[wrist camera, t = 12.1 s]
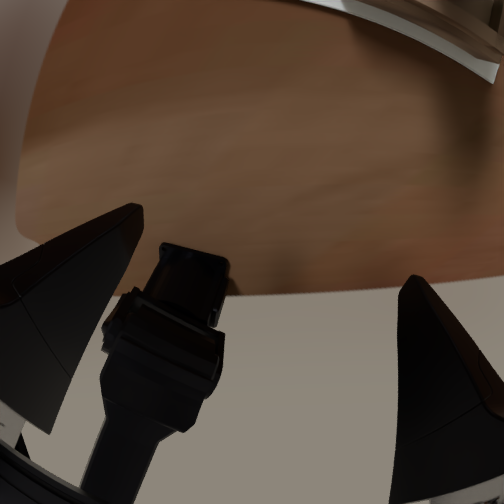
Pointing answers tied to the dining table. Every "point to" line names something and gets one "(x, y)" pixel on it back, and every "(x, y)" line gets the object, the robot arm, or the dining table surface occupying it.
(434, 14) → the socket block
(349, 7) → the white flat sheet
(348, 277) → the dining table surface
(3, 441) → the robot arm
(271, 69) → the dining table surface
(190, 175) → the dining table surface
